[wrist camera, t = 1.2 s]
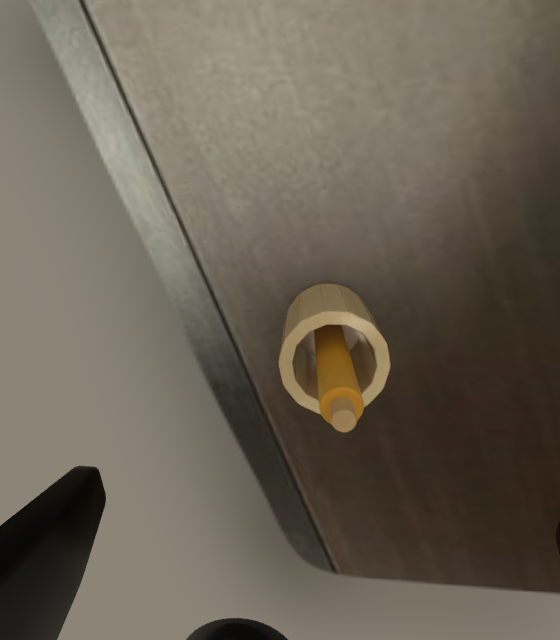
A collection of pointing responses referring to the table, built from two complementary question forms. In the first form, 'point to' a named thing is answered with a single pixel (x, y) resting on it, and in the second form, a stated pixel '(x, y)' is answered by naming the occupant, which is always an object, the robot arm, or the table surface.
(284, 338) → the pencil cup
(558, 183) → the table surface
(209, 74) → the table surface
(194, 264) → the table surface
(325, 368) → the pencil
